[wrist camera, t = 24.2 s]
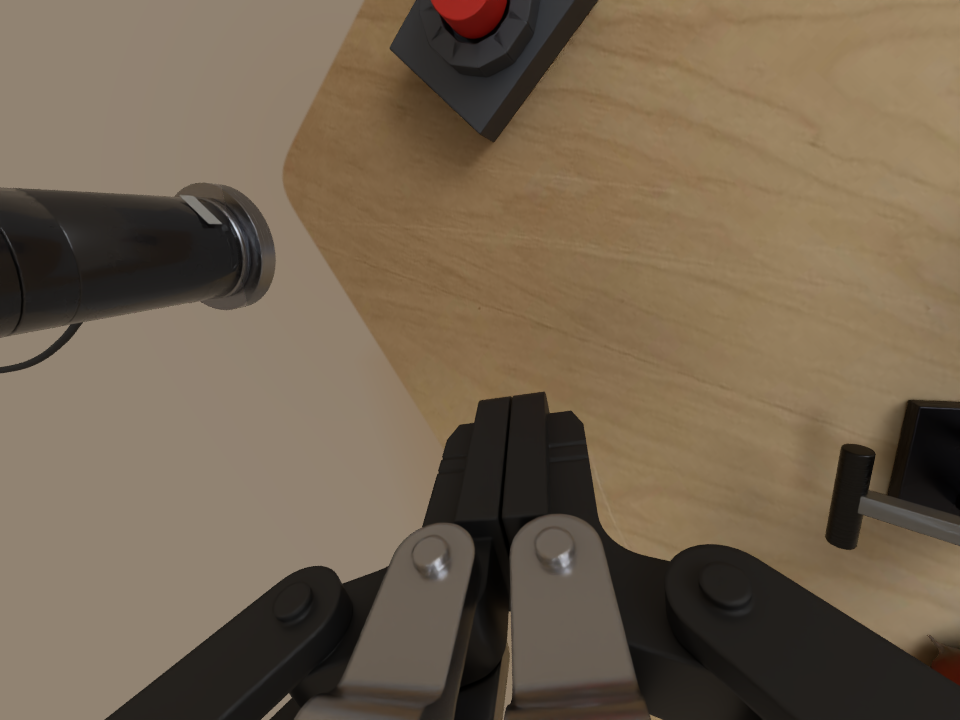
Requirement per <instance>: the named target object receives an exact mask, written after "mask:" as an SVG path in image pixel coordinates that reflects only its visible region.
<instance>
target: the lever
mask: <svg viewBox="0 0 960 720" xmlns="http://www.w3.org/2000/svg"><path fill="white" fill-rule="evenodd" d="M875 455H876V454H875V452H874V451H873V450H872V449H870V448H868V447H865V446H861V445H857V444H845V445H843V446H842V447H841V451H840V456H839V462H838V467H837V473H836V479H835V484H834V490H833V495H832V501H831V506H830V512H829V517H828V523H827V528H826V534H825V538H826V540H827V541H828V542H829V543H830V544H832V545H834V546H836V547H838V548H841V549H846V550H852V549H855V548H856V547H857V543H858V538H859V533H860V528H861V523H862V518H863V515H865V516H868V517H872V518H875V519H878V520H881V521H884V522H887V523H890V524H893V525H896V526H900V527H903V528H906V529H909V530H912V531H915V532H918V533H921V534H924V535H927V536H931V537H934V538H937V539H940V540H943V541H946V542H949V543H952V544H955V545H959V546H960V516H957V515H953V514H950V513H946V512H943V511H940V510H936V509H933V508H929V507H926V506H922V505H919V504H915V503H912V502H908V501H905V500H901V499H898V498H894V497H891V496H888V495H884V494H881V493H877V492H874V491H870V490H868V489H869V485H870V480H871V475H872V470H873V465H874V460H875Z"/></svg>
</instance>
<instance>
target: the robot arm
mask: <svg viewBox="0 0 960 720" xmlns="http://www.w3.org/2000/svg"><path fill="white" fill-rule="evenodd" d="M180 196H181V197H166V196H151V195H132V194H114V193H94V192H77V191H58V190H40V189H21V188H0V338H2V337H6V336H11V335H17V334H22V333H27V332H33V331H38V330H44V329H49V328H55V327H60V326H64V325H70V326H69V327H68V329H67V330H66V331H65V333H64V334H63V335H62V336H61V337H60V338H59V339H58V340H57V341H56V342H55V343H54V344H53V345H51V347H49V348H48V349H47V350H46V351H44V352H43V353H41V354H40V355H38V356H36V357H34V358H32V359H30V360H28V361H26V362H23V363H19V364H15V365H11V366H5V367H0V373H6V372H12V371H17V370H21V369H25V368H28V367H31V366H33V365H36V364H38V363H40V362H42V361H43V360H45V359H47V358H48V357H49V356H51V355H53V354H54V353H55V352H56V351H57V350H59V349H60V348H61V347H62V346H63V345H64V344H65V343H67V342H68V341H69V340H70V339H71V337H72V336H73V335H74V334H75V332H76V331H77V330H78V328H79V327H80V326H81V324H82V323H83V322H86V321H91V320H97V319H103V318H108V317H114V316H119V315H125V314H130V313H136V312H141V311H147V310H152V309H157V308H163V307H169V306H174V305H180V304H185V303H192V302H197V301H203V300H208V299H219V298H225V297H229V296H232V295H234V294H236V293H237V292H238V291H239V290H240V289H241V288H242V287H243V286H244V284H245V282H246V280H247V278H248V275H249V271H250V262H251V258H250V249H249V244H248V240H247V237H246V234H245V232H244V230H243V228H242V226H241V224H240V222H239V221H238V219H237V218H236V217H235V216H234V214H233V213H232V212H231V211H230V210H229V209H228V208H227V207H226V206H224V205H223V204H221V203H220V202H218V201H216V200H213V199H210V198H204V197H194V196H187V195H180ZM442 457H443V460H441V463H440V467H439V470H438V471H439V474H437V477H436V481H435V484H434V487H433V491H432V494H431V498H430V501H429V505H428V509H427V512H426V516H425V519H424V523H423V526H422V528H420V529H418V530H416V531H415V532H413V533H412V534H410V535H409V536H408V537H407V538H406V539H405V540H404V541H403V542H402V543H401V544H400V545H399V547H398V548H397V550H396V551H395V553H394V555H393V557H392V560H391V562H390V564H389V566H388V567H386V568H384V569H381V570H379V571H376V572H374V573H371V574H368V575H365V576H363V577H360V578H357V579H354V580H351V581H349V582H346V583H343V584H342V583H341V581H340V579H339V577H338V576H337V574H336V573H335V572H334V571H333V570H332V569H330V568H327V567H323V566H313V567H307V568H304V569H301V570H298V571H296V572H294V573H292V574H290V575H289V576H287V577H285V578H284V579H283V580H282V581H280V582H279V583H277V584H276V585H275V586H273V587H272V588H271V589H270V590H268V591H267V592H266V593H265V594H263V595H262V596H261V597H260V598H258V599H257V600H256V601H254V602H253V603H252V604H251V605H250V606H248V607H247V608H246V609H244V610H243V611H242V612H241V613H239V614H238V615H237V616H235V617H234V618H233V619H232V620H231V621H229V622H228V623H227V624H225V625H224V626H223V627H222V628H220V629H219V630H218V631H216V632H215V633H214V634H213V635H211V636H210V637H209V638H208V639H206V640H205V641H204V642H203V643H201V644H200V645H199V646H197V647H196V648H195V649H194V650H192V651H191V652H190V653H189V654H187V655H186V656H185V657H184V658H182V659H181V660H180V661H179V662H177V663H176V664H175V665H173V666H172V667H171V668H170V669H169V670H167V671H166V672H165V673H163V674H162V675H161V676H159V677H158V678H157V679H156V680H154V681H153V682H152V683H151V684H149V685H148V686H147V687H146V688H144V689H143V690H142V691H140V692H139V693H138V694H137V695H135V696H134V697H133V698H132V699H130V700H129V701H128V702H126V703H125V704H124V705H123V706H121V707H120V708H119V709H118V710H116V711H115V712H114V713H113V714H111V715H110V716H109V717H107V718H106V719H105V720H261V719H262V718H263V717H264V716H265V715H266V714H267V713H268V712H269V711H270V710H271V709H272V708H273V707H275V706H276V705H277V704H278V703H279V702H280V701H281V700H282V699H283V698H284V697H285V696H286V695H287V694H288V693H289V694H290V695H291V697H292V699H290V700H289V701H288V703H286V704H285V705H284V706H283V707H282V708H281V709H280V710H279V711H278V712H277V713H276V714H275V715H274V716H273V717H272V718H271V719H270V720H502V719H503V710H504V702H505V693H506V685H507V677H508V668H509V658H510V653H509V646H508V643H507V630H508V613H509V611H511V636H512V676H513V677H512V679H513V689H512V691H513V693H512V700H511V703H510V704H509V705H508V706H507V707H506V711H505V717H504V720H651V718H650V715H653V716H655V717H658V718H660V719H663V720H960V686H959V685H958V684H956V683H954V682H953V681H951V680H950V679H948V678H946V677H945V676H943V675H942V674H940V673H938V672H937V671H935V670H934V669H932V668H931V667H929V666H927V665H926V664H924V663H923V662H921V661H919V660H918V659H916V658H915V657H913V656H911V655H910V654H908V653H907V652H905V651H903V650H902V649H900V648H899V647H897V646H896V645H894V644H892V643H891V642H889V641H888V640H886V639H884V638H883V637H881V636H880V635H878V634H876V633H875V632H873V631H872V630H870V629H869V628H867V627H865V626H864V625H862V624H861V623H859V622H857V621H856V620H854V619H853V618H851V617H849V616H848V615H846V614H845V613H843V612H842V611H840V610H838V609H837V608H835V607H834V606H832V605H830V604H829V603H827V602H826V601H824V600H822V599H821V598H819V597H818V596H816V595H814V594H813V593H811V592H810V591H808V590H807V589H805V588H803V587H802V586H800V585H799V584H797V583H795V582H794V581H792V580H791V579H789V578H787V577H786V576H784V575H783V574H781V573H780V572H778V571H776V570H775V569H773V568H772V567H770V566H768V565H767V564H765V563H764V562H762V561H760V560H759V559H757V558H755V557H754V556H752V555H750V554H748V553H746V552H743V551H741V550H739V549H735V548H732V547H728V546H723V545H714V544H705V545H697V546H693V547H690V548H687V549H685V550H683V551H681V552H680V553H679V554H677V555H676V556H675V557H674V558H673V559H672V560H671V561H666V560H661V559H657V558H653V557H648V556H644V555H641V554H637V553H634V552H632V551H630V550H627V549H625V548H624V547H622V546H620V545H619V544H617V543H616V542H615V541H614V540H612V539H611V538H610V537H609V536H608V535H607V533H606V532H605V531H604V529H603V528H602V526H601V524H600V521H599V518H598V513H597V507H596V501H595V494H594V488H593V482H592V476H591V469H590V463H589V457H588V450H587V444H586V438H585V432H584V425H583V423H582V422H581V421H580V420H579V419H578V417H577V416H576V415H575V414H574V413H573V412H572V411H565V412H557V413H549V408H548V402H547V398H546V394H545V392H538V393H531V394H523V395H516V396H513V397H511V396H509V397H502V398H495V399H487V400H480V401H479V403H478V408H477V412H476V417H475V422H474V423H470V424H462V425H459V426H458V428H457V429H456V430H455V431H454V432H453V434H452V435H451V436H450V437H449V438H448V440H447V442H446V446H445V449H444V453H443V456H442ZM649 714H650V715H649Z"/></svg>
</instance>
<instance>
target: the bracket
mask: <svg viewBox="0 0 960 720" xmlns="http://www.w3.org/2000/svg"><path fill="white" fill-rule="evenodd" d="M888 496H891V497H894V498H898V499H901V500H905V501H908V502H912V503H915V504H919V505H922V506H926V507H929V508H933V509H936V510H940V511H943V512H946V513H950V514H953V515H957V516H960V402H948V401H924V400H909V401H908V405H907V409H906V414H905V418H904V423H903V427H902V432H901V436H900V441H899V445H898V450H897V455H896V459H895V464H894V468H893V473H892V477H891V482H890V486H889V491H888Z"/></svg>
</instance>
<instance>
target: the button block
mask: <svg viewBox="0 0 960 720" xmlns="http://www.w3.org/2000/svg"><path fill="white" fill-rule="evenodd" d="M597 1H598V0H507V3H506V8H505V11H504V14H503V16H502V18H501V20H500V22H499V23H498V25H497V26H496V27H495V28H494V29H493V30H492V31H491V32H490V33H488V34H487V35H485V36H483V37H480V38H476V39H469V38H465V37H462V36H461V35H459V34H458V33H456V32H455V31H454V29H453V28H452V27H451V26H450V25H449V24H448V23H447V22H446V21H445V20H444V18H443V17H442V16H441V15H440V14H439V13H438V12H437V11H436V9H435V8H434V6H433V4H432V2H431V0H416V1H415V3H414V5H413V7H412V8H411V10H410V12H409V14H408V16H407V17H406V19H405V21H404V23H403V25H402V26H401V28H400V30H399V32H398V34H397V35H396V37H395V39H394V41H393V42H392V44H391V46H390V50H391V51H392V52H393V53H394V54H395V55H396V56H398V57H399V58H400V59H401V60H402V61H403V62H404V63H405V64H406V65H407V66H408V67H409V68H410V69H411V70H412V71H413V72H414V73H415V74H417V75H418V76H419V77H420V78H421V79H422V80H423V81H424V82H425V83H426V84H427V85H428V86H429V87H430V88H431V89H432V90H433V91H434V92H436V93H437V94H438V95H439V96H440V97H441V98H442V99H443V100H444V101H445V102H446V103H447V104H448V105H449V106H450V107H451V108H452V109H454V110H455V111H456V112H457V113H458V114H459V115H460V116H461V117H462V118H463V119H464V120H465V121H466V122H467V123H468V124H469V125H470V126H471V127H473V128H474V129H475V130H476V131H477V132H478V133H479V134H480V135H482V136H484V137H485V138H487V139H489V140H490V141H492V142H495V140H496V139H497V137H498V136H499V135H500V133H501V132H502V131H503V129H504V128H505V126H506V125H507V124H508V122H509V121H510V120H511V118H512V117H513V116H514V114H515V113H516V111H517V110H518V109H519V107H520V106H521V105H522V103H523V102H524V100H525V99H526V98H527V96H528V95H529V94H530V92H531V91H532V89H533V88H534V87H535V85H536V84H537V83H538V81H539V80H540V79H541V77H542V76H543V74H544V73H545V72H546V70H547V69H548V68H549V66H550V65H551V63H552V62H553V61H554V59H555V58H556V57H557V55H558V54H559V53H560V51H561V50H562V48H563V47H564V46H565V44H566V43H567V42H568V40H569V39H570V37H571V36H572V35H573V33H574V32H575V31H576V29H577V28H578V27H579V25H580V24H581V22H582V21H583V20H584V18H585V17H586V16H587V14H588V13H589V11H590V10H591V9H592V7H593V6H594V5H595V3H596V2H597Z"/></svg>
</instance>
